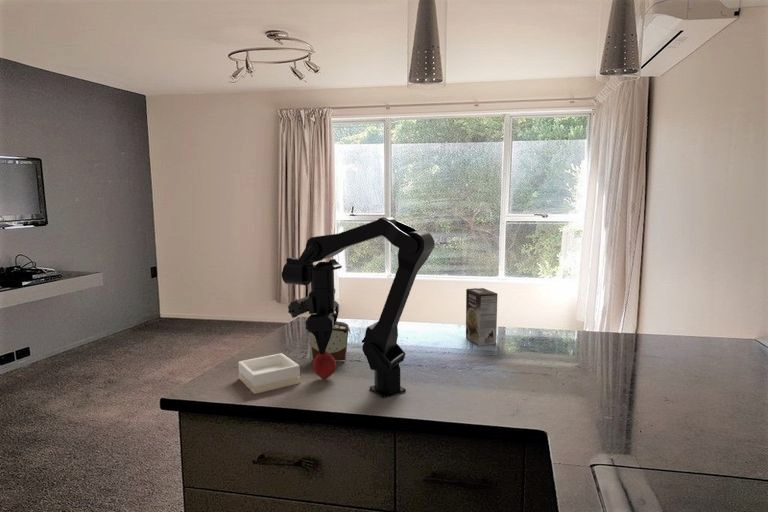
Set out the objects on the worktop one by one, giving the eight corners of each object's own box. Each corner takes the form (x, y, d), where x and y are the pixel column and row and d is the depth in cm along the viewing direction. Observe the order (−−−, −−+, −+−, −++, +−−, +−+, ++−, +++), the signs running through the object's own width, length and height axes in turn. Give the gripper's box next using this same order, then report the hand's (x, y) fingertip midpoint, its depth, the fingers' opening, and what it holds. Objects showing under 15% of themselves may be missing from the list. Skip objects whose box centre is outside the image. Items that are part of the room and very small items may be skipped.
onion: (339, 376, 125) (339, 345, 124) (331, 384, 119) (330, 353, 118) (318, 374, 126) (317, 344, 125) (309, 382, 121) (308, 351, 120)
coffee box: (464, 337, 157) (465, 288, 155) (482, 336, 159) (483, 287, 157) (478, 346, 148) (479, 294, 146) (497, 344, 150) (498, 292, 148)
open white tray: (300, 383, 120) (299, 365, 120) (254, 393, 114) (253, 375, 114) (282, 369, 130) (281, 353, 130) (239, 378, 124) (238, 361, 123)
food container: (354, 354, 142) (353, 320, 141) (350, 361, 136) (350, 326, 134) (312, 353, 143) (311, 320, 142) (307, 360, 137) (306, 325, 136)
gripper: (296, 280, 129) (298, 337, 131) (282, 294, 111) (284, 361, 112) (338, 280, 129) (340, 337, 131) (331, 294, 111) (333, 360, 112)
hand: (324, 348), depth 122 cm, fingers open, 9 cm apart
